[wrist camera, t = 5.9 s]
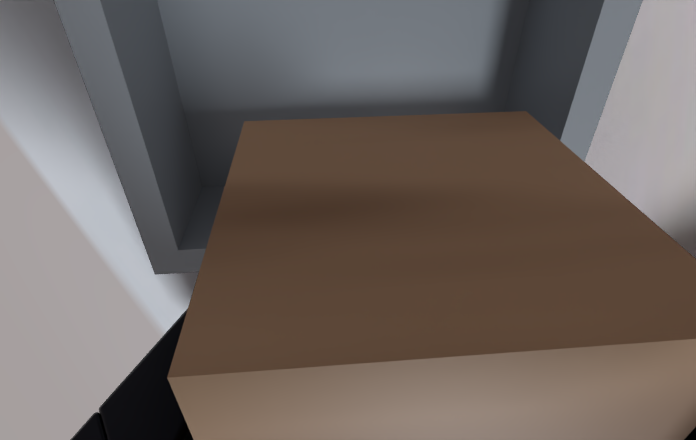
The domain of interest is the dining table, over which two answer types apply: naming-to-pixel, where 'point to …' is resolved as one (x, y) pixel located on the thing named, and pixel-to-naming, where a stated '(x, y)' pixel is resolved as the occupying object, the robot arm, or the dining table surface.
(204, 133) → the tote
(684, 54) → the dining table surface
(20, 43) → the dining table surface
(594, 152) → the dining table surface
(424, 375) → the cube
